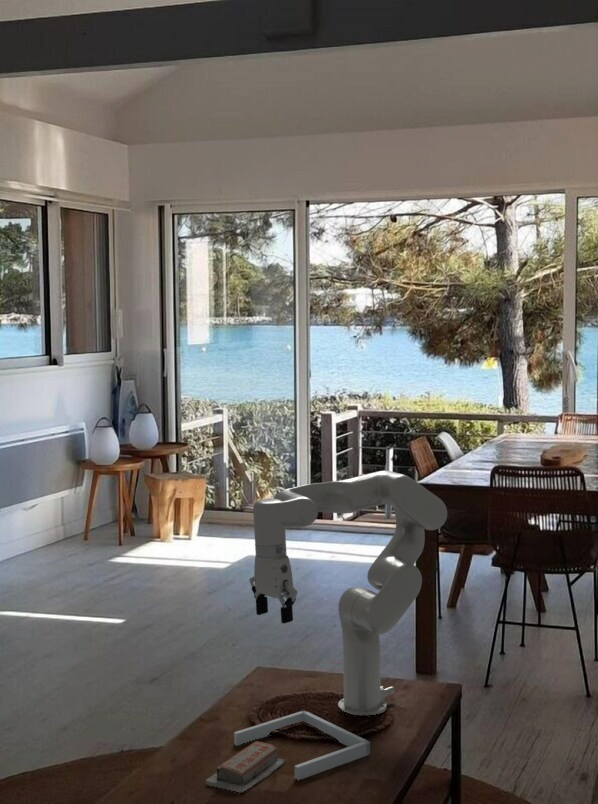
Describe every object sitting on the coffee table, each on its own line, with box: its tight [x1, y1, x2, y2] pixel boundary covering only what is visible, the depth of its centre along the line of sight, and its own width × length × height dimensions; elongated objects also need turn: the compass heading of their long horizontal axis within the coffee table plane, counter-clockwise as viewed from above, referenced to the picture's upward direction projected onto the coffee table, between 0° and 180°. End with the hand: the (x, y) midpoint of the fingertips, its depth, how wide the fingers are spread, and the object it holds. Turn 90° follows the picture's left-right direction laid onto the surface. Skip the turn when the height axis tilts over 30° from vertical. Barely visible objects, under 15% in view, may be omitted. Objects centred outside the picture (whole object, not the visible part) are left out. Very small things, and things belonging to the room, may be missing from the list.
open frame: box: [233, 710, 371, 781], centre depth 266 cm, size 21×25×3 cm
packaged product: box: [205, 740, 286, 793], centre depth 254 cm, size 18×5×10 cm
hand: (274, 617), depth 276 cm, fingers open, 9 cm apart
